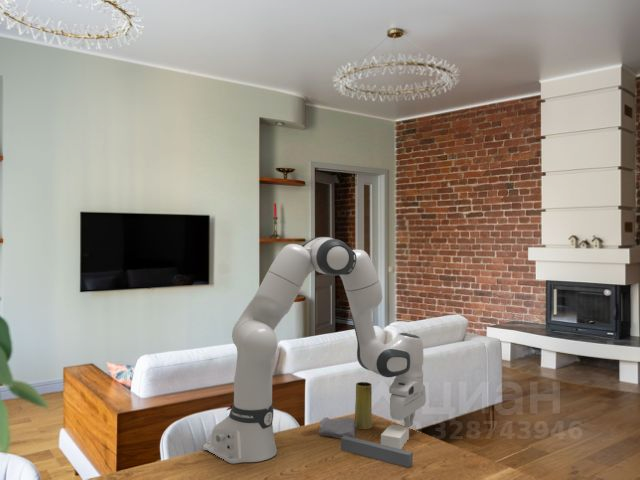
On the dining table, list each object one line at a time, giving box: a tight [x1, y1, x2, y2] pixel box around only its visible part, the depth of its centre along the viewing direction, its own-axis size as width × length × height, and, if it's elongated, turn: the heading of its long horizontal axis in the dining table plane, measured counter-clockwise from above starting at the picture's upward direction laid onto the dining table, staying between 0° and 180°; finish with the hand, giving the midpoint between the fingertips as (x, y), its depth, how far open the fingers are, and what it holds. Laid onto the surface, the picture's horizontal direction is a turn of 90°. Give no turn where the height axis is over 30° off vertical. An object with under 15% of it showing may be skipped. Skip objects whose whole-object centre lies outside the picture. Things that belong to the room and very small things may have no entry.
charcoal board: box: [340, 436, 414, 469], centre depth 158 cm, size 22×2×4 cm, turn 57°
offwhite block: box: [380, 424, 410, 449], centre depth 169 cm, size 6×10×4 cm, turn 156°
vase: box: [354, 381, 373, 430], centre depth 183 cm, size 6×6×14 cm
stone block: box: [318, 417, 356, 439], centre depth 177 cm, size 12×5×10 cm
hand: (408, 425), depth 178 cm, fingers closed
